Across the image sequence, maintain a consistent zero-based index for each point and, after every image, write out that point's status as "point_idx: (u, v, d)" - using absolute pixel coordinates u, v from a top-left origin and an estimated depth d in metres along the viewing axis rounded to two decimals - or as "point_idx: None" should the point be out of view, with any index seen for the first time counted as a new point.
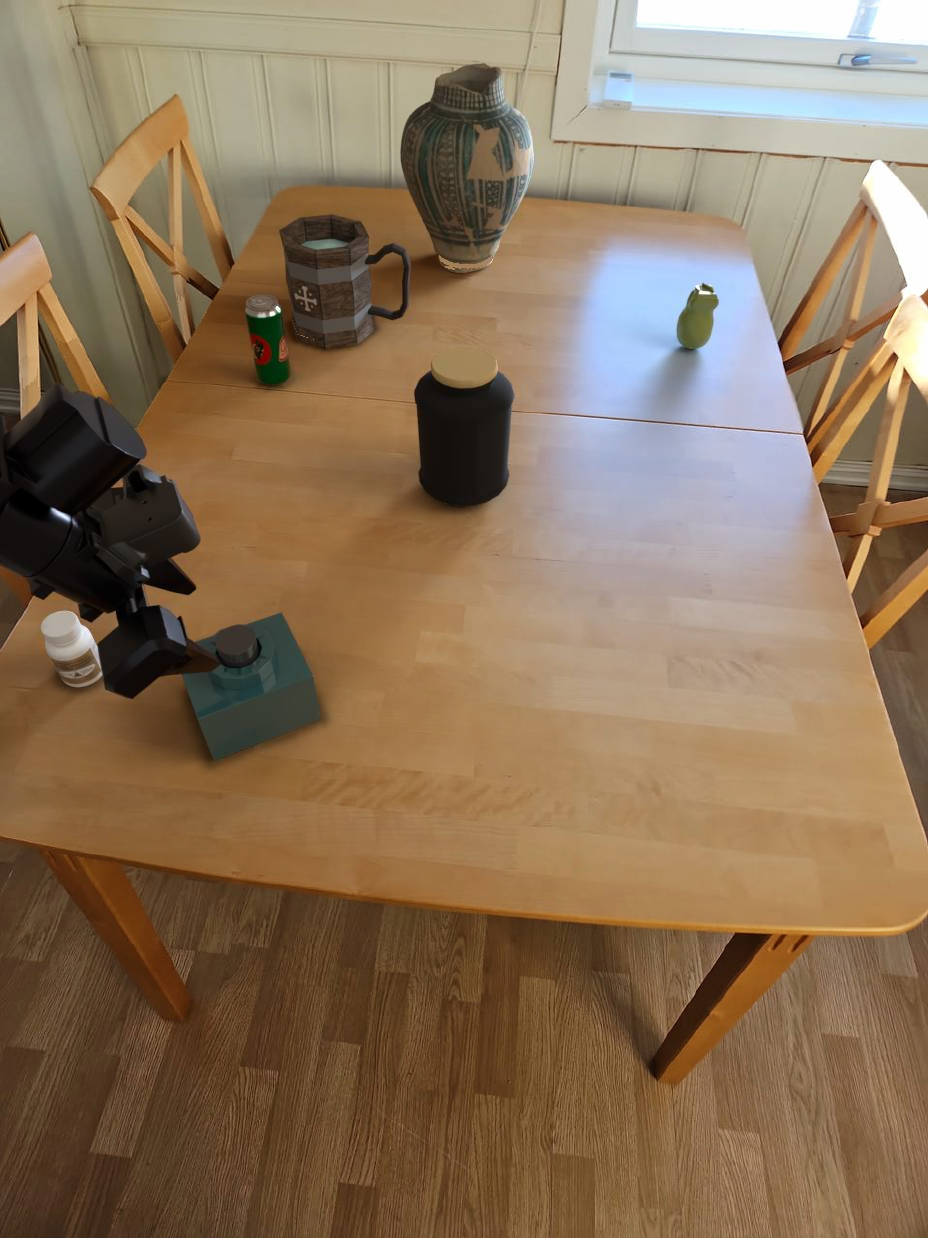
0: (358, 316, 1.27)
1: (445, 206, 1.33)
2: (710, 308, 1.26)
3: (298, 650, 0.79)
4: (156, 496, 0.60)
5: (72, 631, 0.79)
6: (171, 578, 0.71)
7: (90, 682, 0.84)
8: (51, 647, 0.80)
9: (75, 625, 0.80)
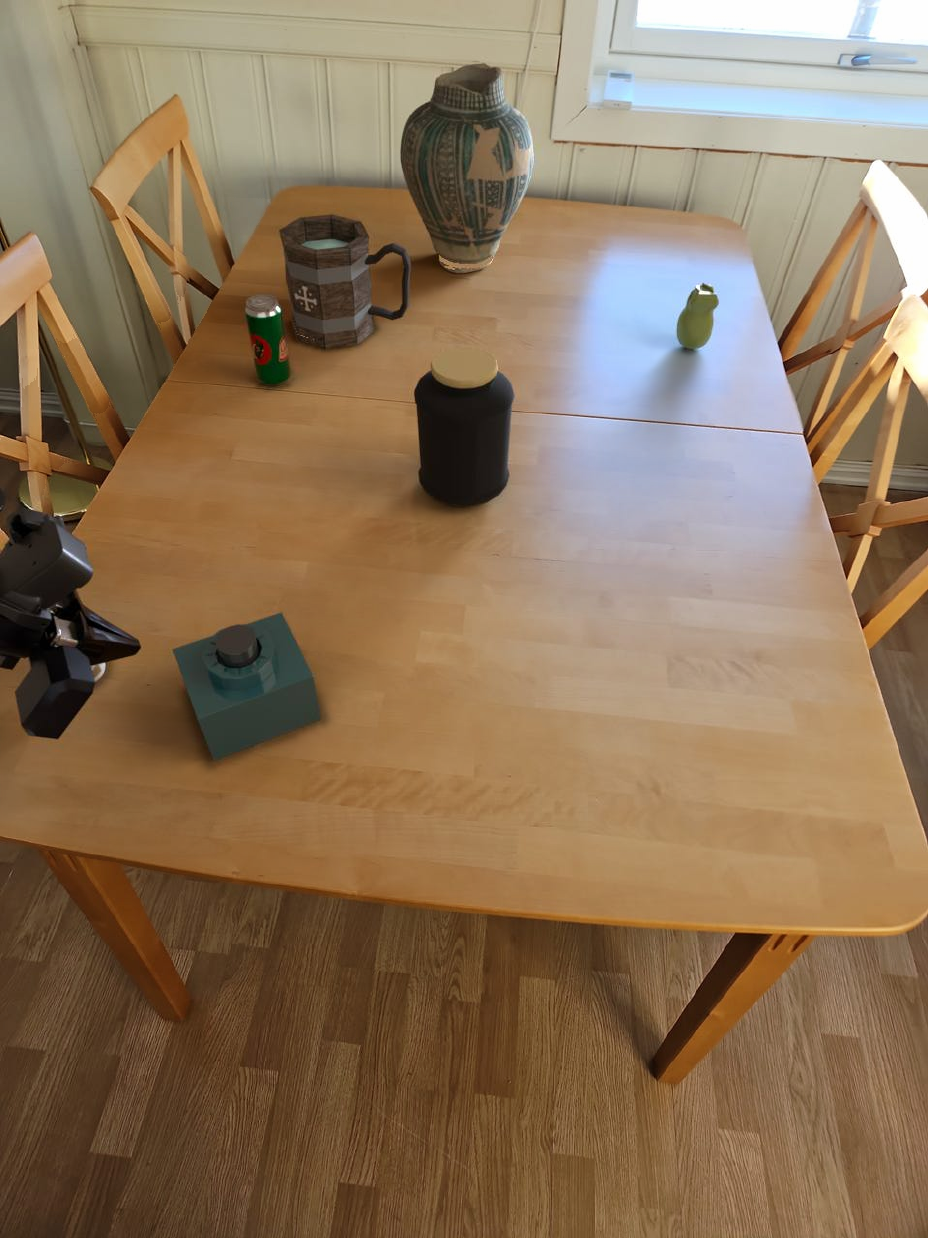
0: (358, 316, 1.27)
1: (445, 206, 1.33)
2: (710, 308, 1.26)
3: (298, 650, 0.79)
4: (40, 537, 0.60)
5: None
6: None
7: None
8: None
9: None
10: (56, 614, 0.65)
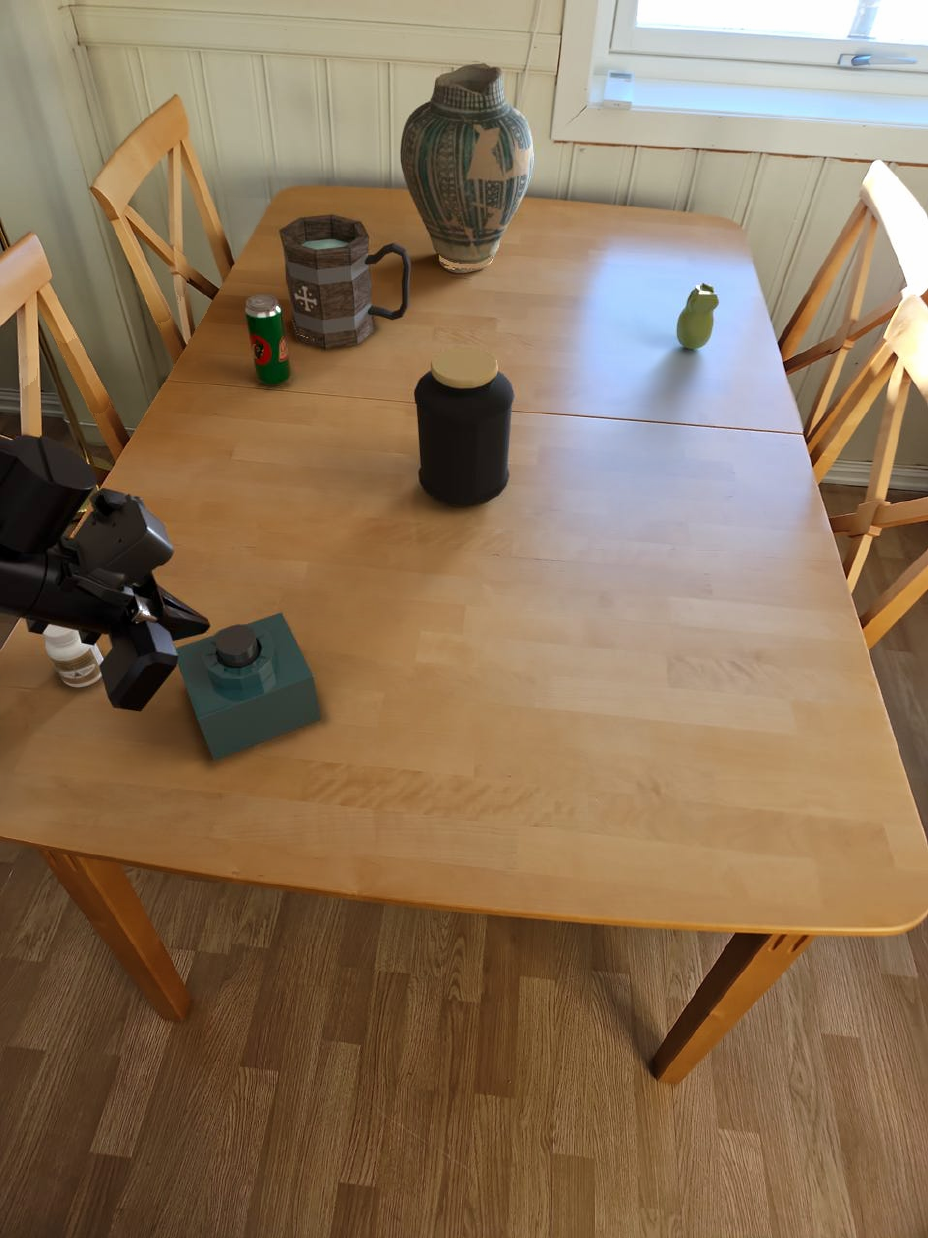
0: (358, 316, 1.27)
1: (445, 206, 1.33)
2: (710, 308, 1.26)
3: (298, 650, 0.79)
4: (123, 516, 0.62)
5: (72, 631, 0.79)
6: None
7: (90, 682, 0.84)
8: (51, 647, 0.80)
9: None
10: (132, 592, 0.68)
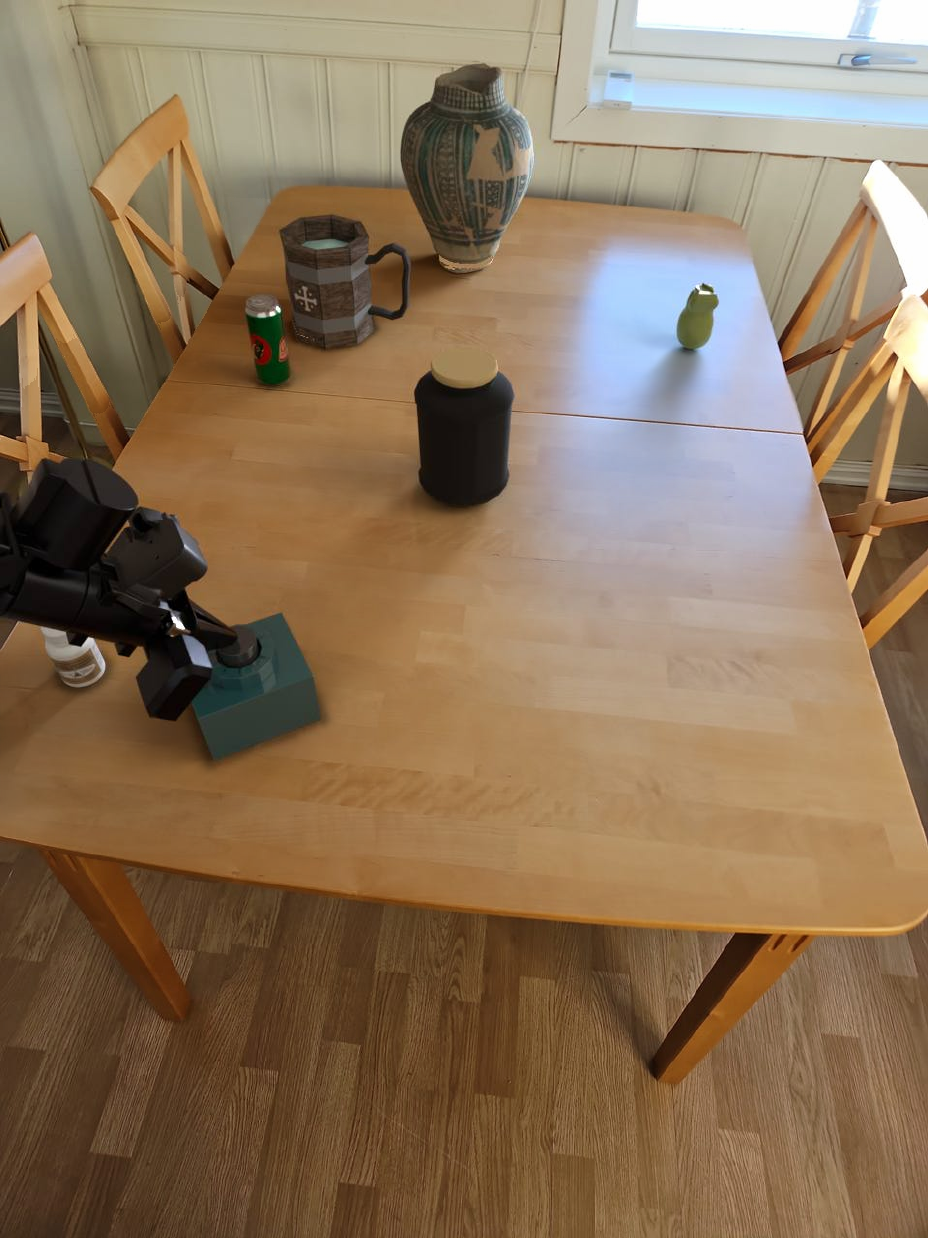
0: (358, 316, 1.27)
1: (445, 206, 1.33)
2: (710, 308, 1.26)
3: (298, 650, 0.79)
4: (160, 534, 0.65)
5: None
6: None
7: (90, 682, 0.84)
8: (51, 647, 0.80)
9: None
10: None
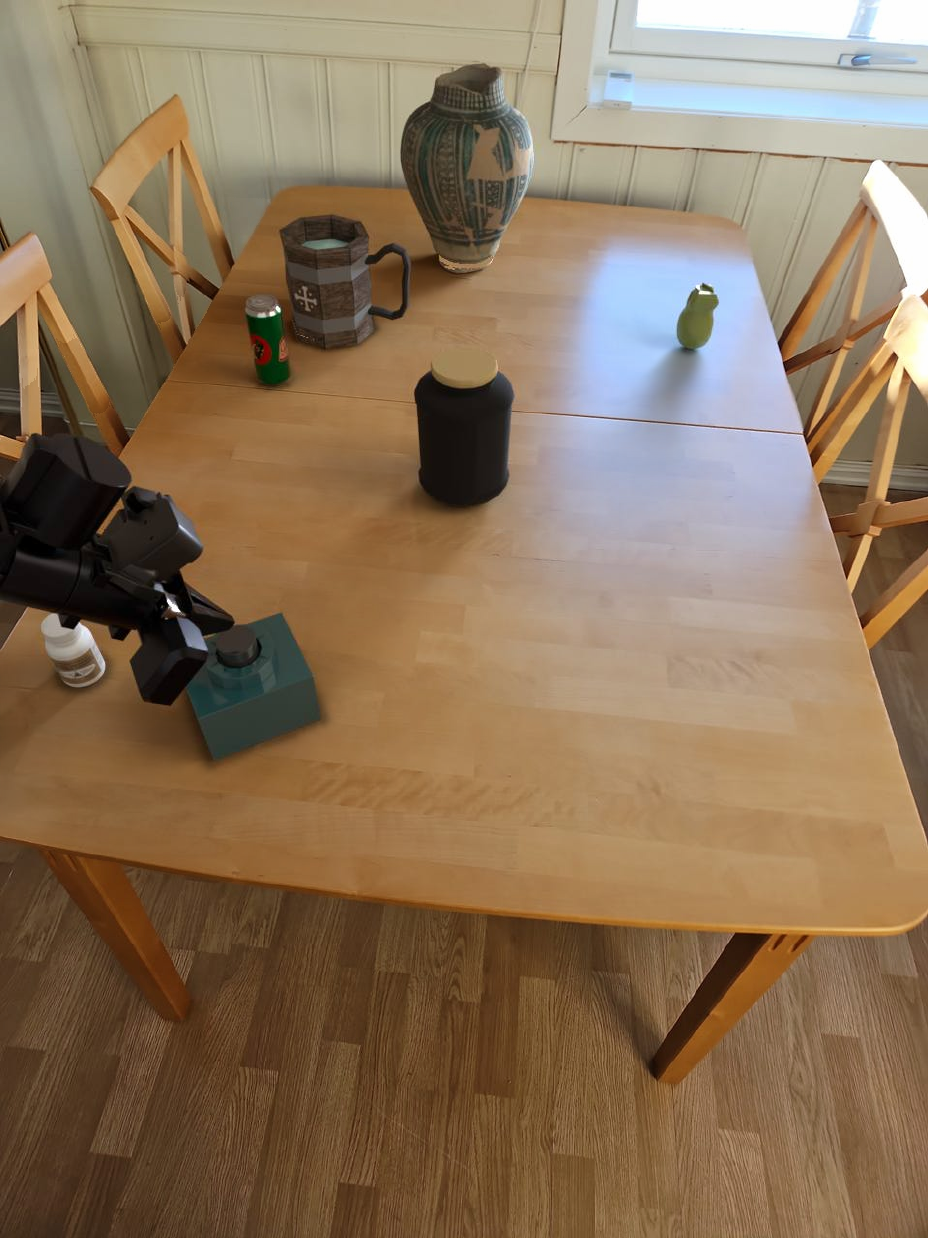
0: (358, 316, 1.27)
1: (445, 206, 1.33)
2: (710, 308, 1.26)
3: (298, 650, 0.79)
4: (154, 514, 0.63)
5: (72, 631, 0.79)
6: None
7: (90, 682, 0.84)
8: (51, 647, 0.80)
9: None
10: None
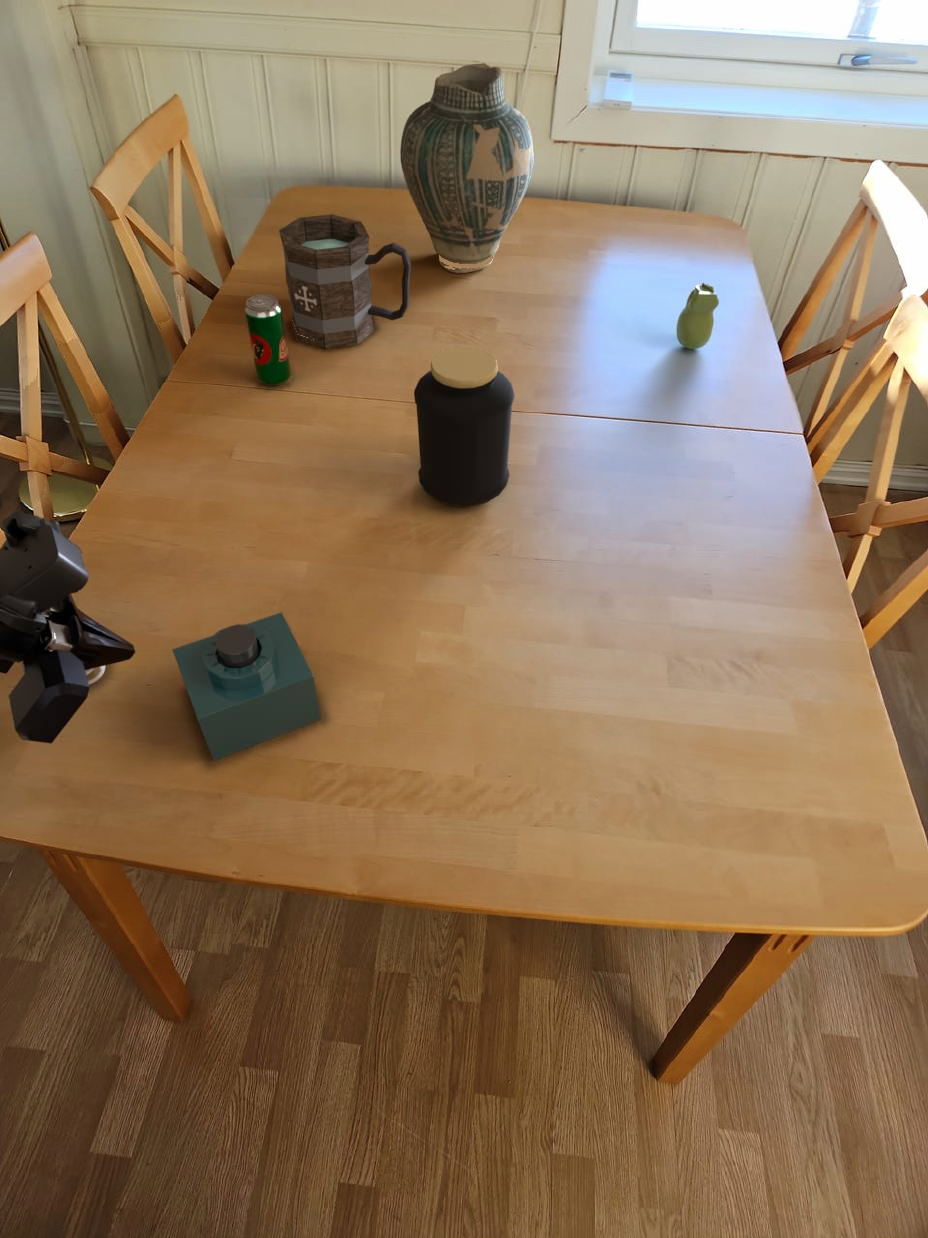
0: (358, 316, 1.27)
1: (445, 206, 1.33)
2: (710, 308, 1.26)
3: (298, 650, 0.79)
4: (35, 542, 0.60)
5: None
6: None
7: (90, 682, 0.84)
8: None
9: None
10: (51, 618, 0.65)
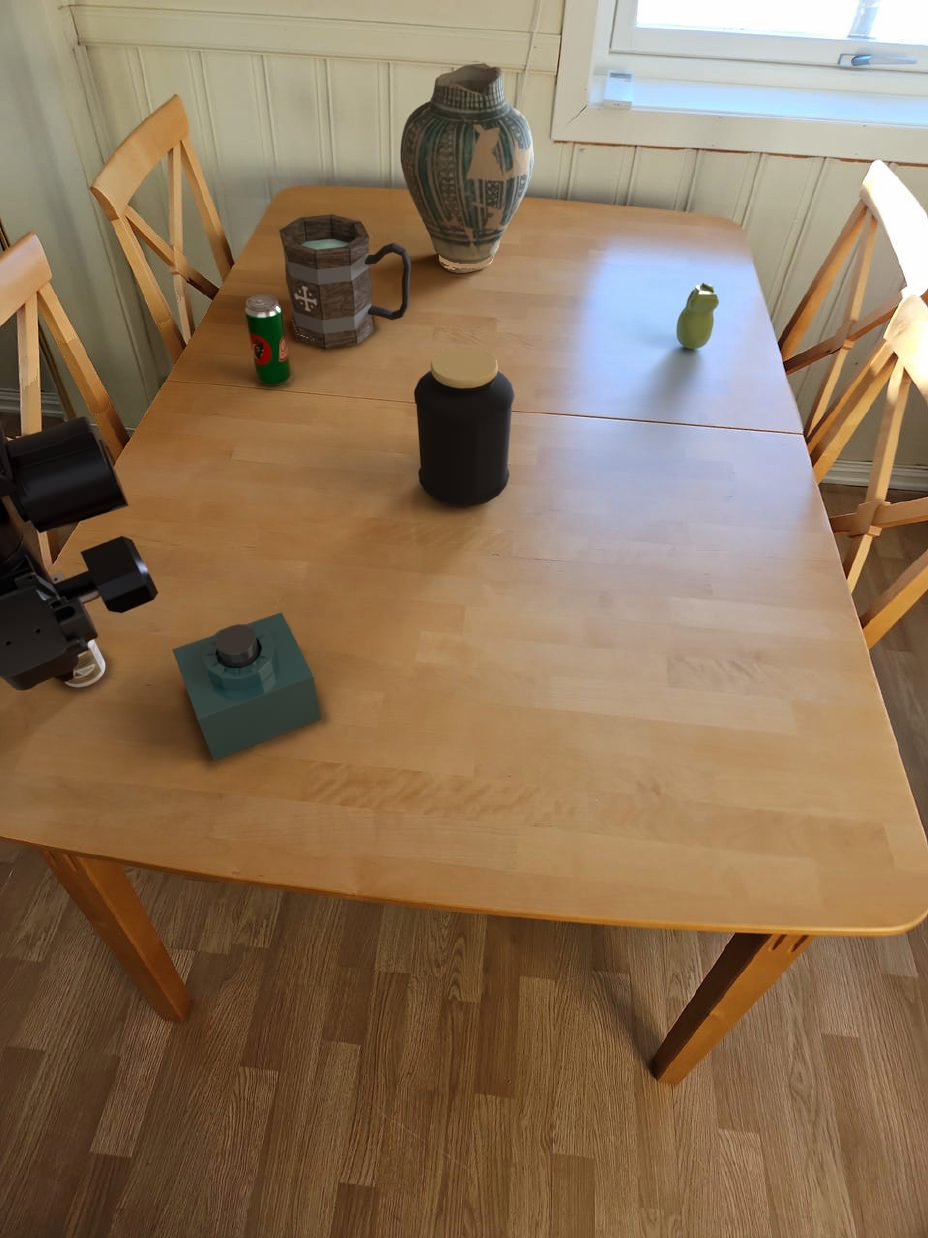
0: (358, 316, 1.27)
1: (445, 206, 1.33)
2: (710, 308, 1.26)
3: (298, 650, 0.79)
4: (43, 641, 0.56)
5: None
6: None
7: (90, 682, 0.84)
8: None
9: None
10: None
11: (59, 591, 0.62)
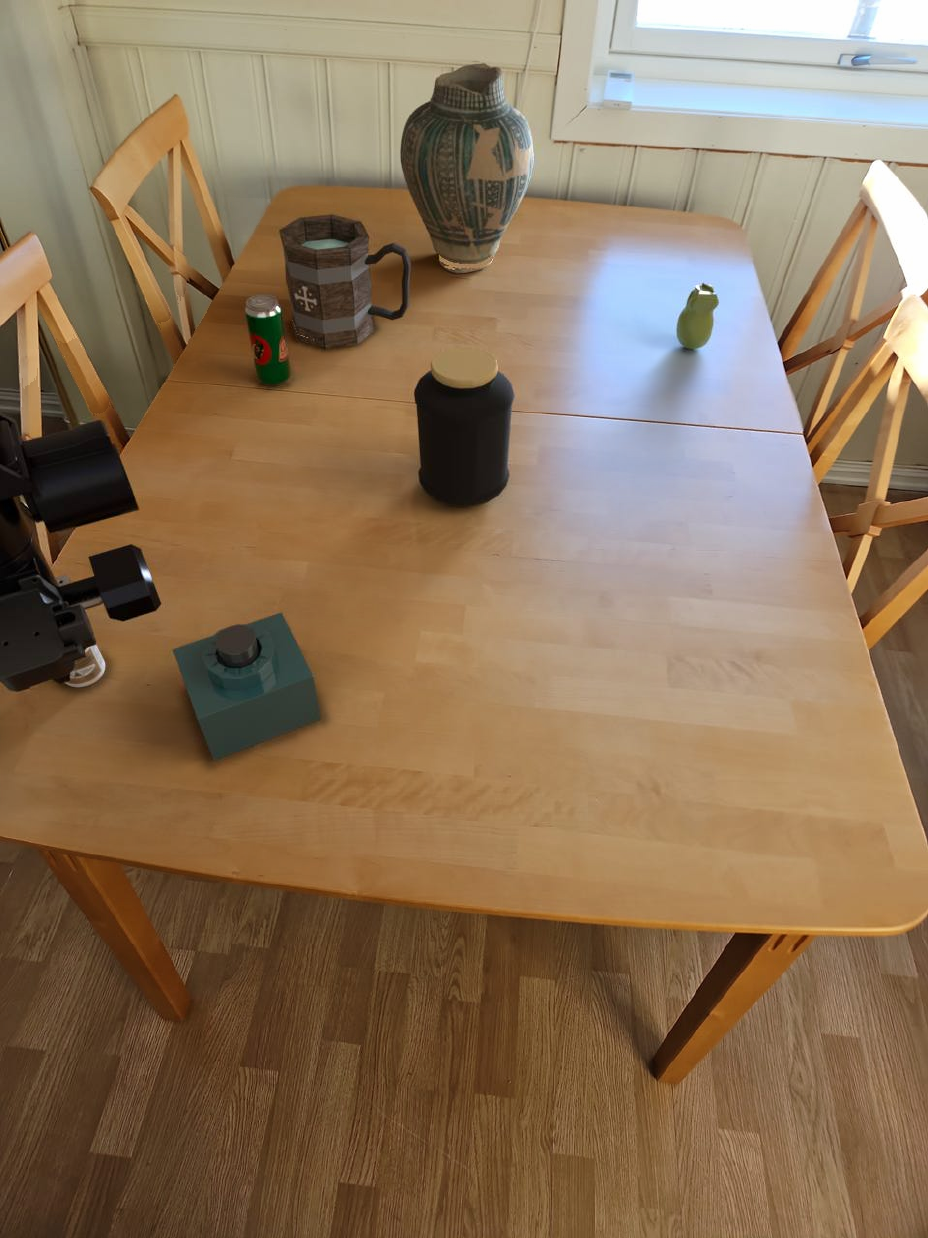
0: (358, 316, 1.27)
1: (445, 206, 1.33)
2: (710, 308, 1.26)
3: (298, 650, 0.79)
4: (41, 645, 0.56)
5: None
6: None
7: (90, 682, 0.84)
8: None
9: None
10: None
11: (63, 594, 0.62)
